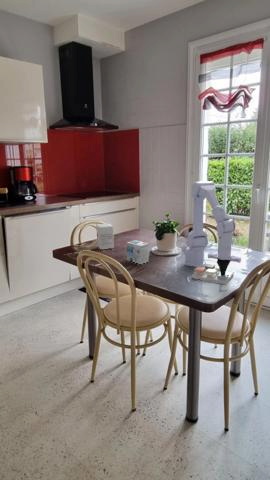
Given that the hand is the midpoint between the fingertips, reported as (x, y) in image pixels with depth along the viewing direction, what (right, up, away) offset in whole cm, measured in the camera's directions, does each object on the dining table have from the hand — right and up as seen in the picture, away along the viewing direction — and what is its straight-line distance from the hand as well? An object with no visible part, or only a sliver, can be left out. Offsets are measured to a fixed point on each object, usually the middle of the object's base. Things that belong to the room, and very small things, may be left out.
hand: (223, 274), depth 150 cm
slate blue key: (0, -1, 0) cm, 1 cm away
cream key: (-5, 0, +3) cm, 6 cm away
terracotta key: (-9, +1, +5) cm, 11 cm away
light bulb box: (-39, +4, +30) cm, 49 cm away
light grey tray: (-3, -2, +6) cm, 7 cm away
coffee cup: (-3, +11, +54) cm, 55 cm away
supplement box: (-59, +11, +56) cm, 82 cm away
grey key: (-4, +2, +9) cm, 10 cm away
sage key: (+1, +1, +6) cm, 7 cm away
